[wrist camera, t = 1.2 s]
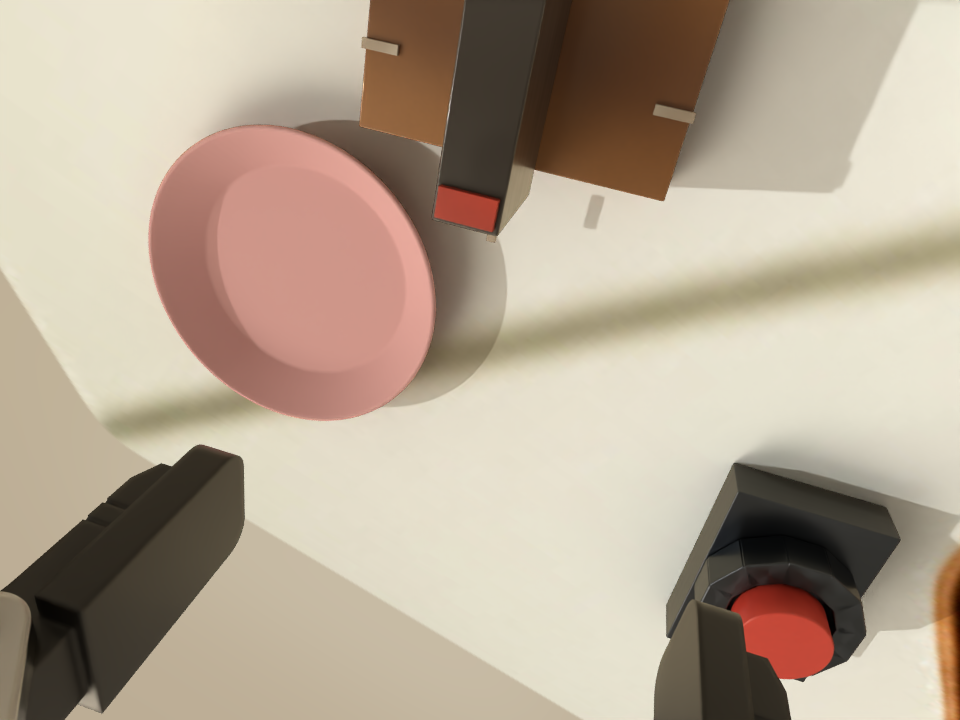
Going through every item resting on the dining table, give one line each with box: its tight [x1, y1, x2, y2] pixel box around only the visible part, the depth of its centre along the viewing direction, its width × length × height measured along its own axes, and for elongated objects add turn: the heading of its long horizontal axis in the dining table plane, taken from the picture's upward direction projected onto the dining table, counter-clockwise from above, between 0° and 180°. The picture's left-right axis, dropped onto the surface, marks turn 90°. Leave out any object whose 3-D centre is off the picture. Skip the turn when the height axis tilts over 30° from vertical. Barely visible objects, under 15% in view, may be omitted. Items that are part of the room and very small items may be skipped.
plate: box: [149, 125, 436, 421], centre depth 31 cm, size 14×14×2 cm
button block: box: [666, 463, 901, 682], centre depth 31 cm, size 10×7×4 cm
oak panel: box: [359, 0, 730, 243], centre depth 24 cm, size 13×12×3 cm
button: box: [731, 584, 834, 679], centre depth 29 cm, size 4×4×2 cm
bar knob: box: [432, 0, 572, 236], centre depth 21 cm, size 8×2×6 cm, turn 169°
